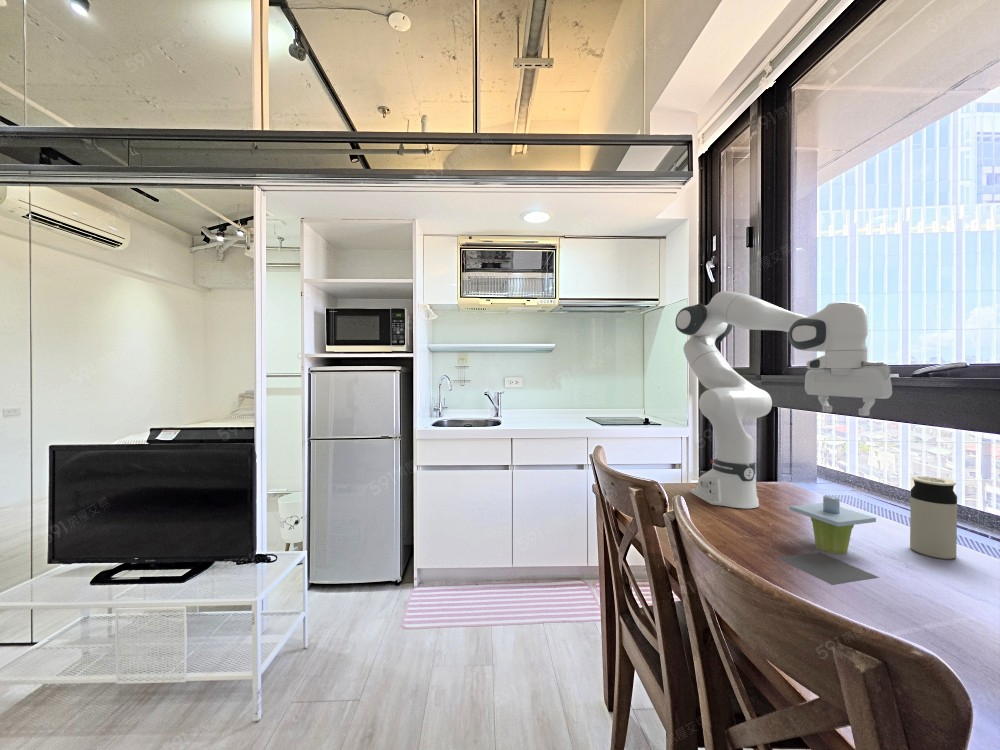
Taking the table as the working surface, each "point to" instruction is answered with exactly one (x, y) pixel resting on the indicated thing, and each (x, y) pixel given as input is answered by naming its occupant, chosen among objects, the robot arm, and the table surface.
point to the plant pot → (831, 536)
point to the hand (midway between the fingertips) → (844, 413)
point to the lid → (832, 513)
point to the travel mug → (933, 517)
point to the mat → (827, 568)
